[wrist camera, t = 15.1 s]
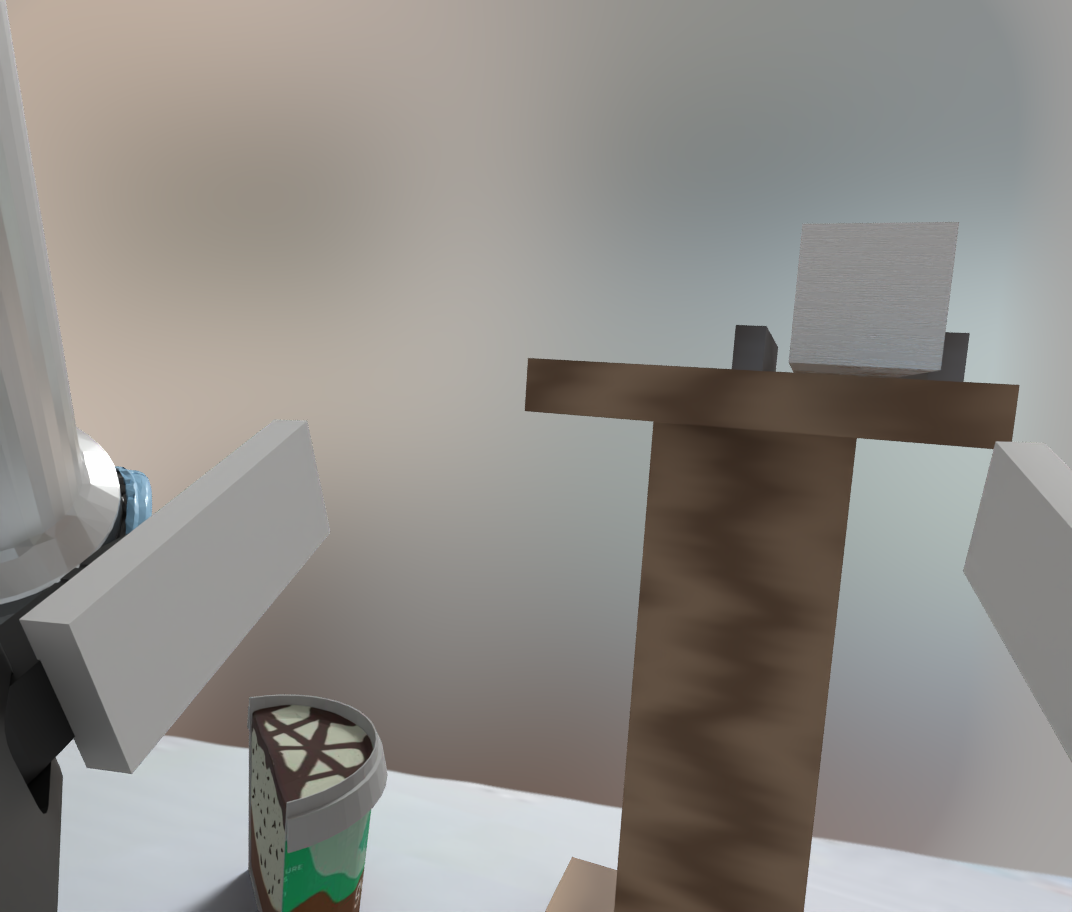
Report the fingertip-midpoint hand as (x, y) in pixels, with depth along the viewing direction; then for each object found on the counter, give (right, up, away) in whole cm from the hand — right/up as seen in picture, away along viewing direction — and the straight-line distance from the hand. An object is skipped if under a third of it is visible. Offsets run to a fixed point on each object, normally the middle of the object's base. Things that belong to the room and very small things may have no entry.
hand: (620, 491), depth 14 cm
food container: (-13, -24, +25) cm, 37 cm away
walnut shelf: (+6, -26, +19) cm, 33 cm away
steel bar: (+9, +4, +13) cm, 16 cm away
